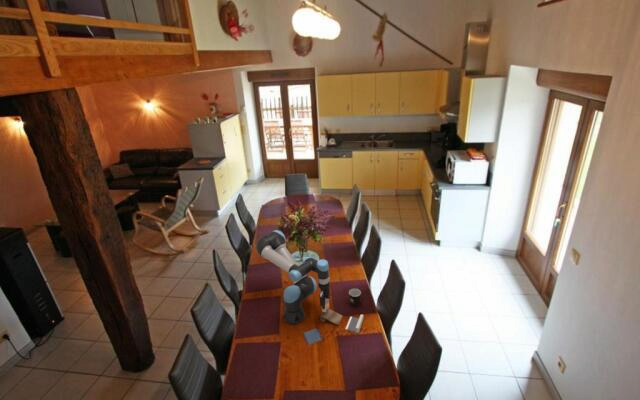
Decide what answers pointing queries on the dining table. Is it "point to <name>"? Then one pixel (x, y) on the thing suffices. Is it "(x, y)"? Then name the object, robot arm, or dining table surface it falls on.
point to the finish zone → (355, 324)
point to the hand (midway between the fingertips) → (325, 308)
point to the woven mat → (312, 336)
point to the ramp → (331, 317)
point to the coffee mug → (355, 297)
